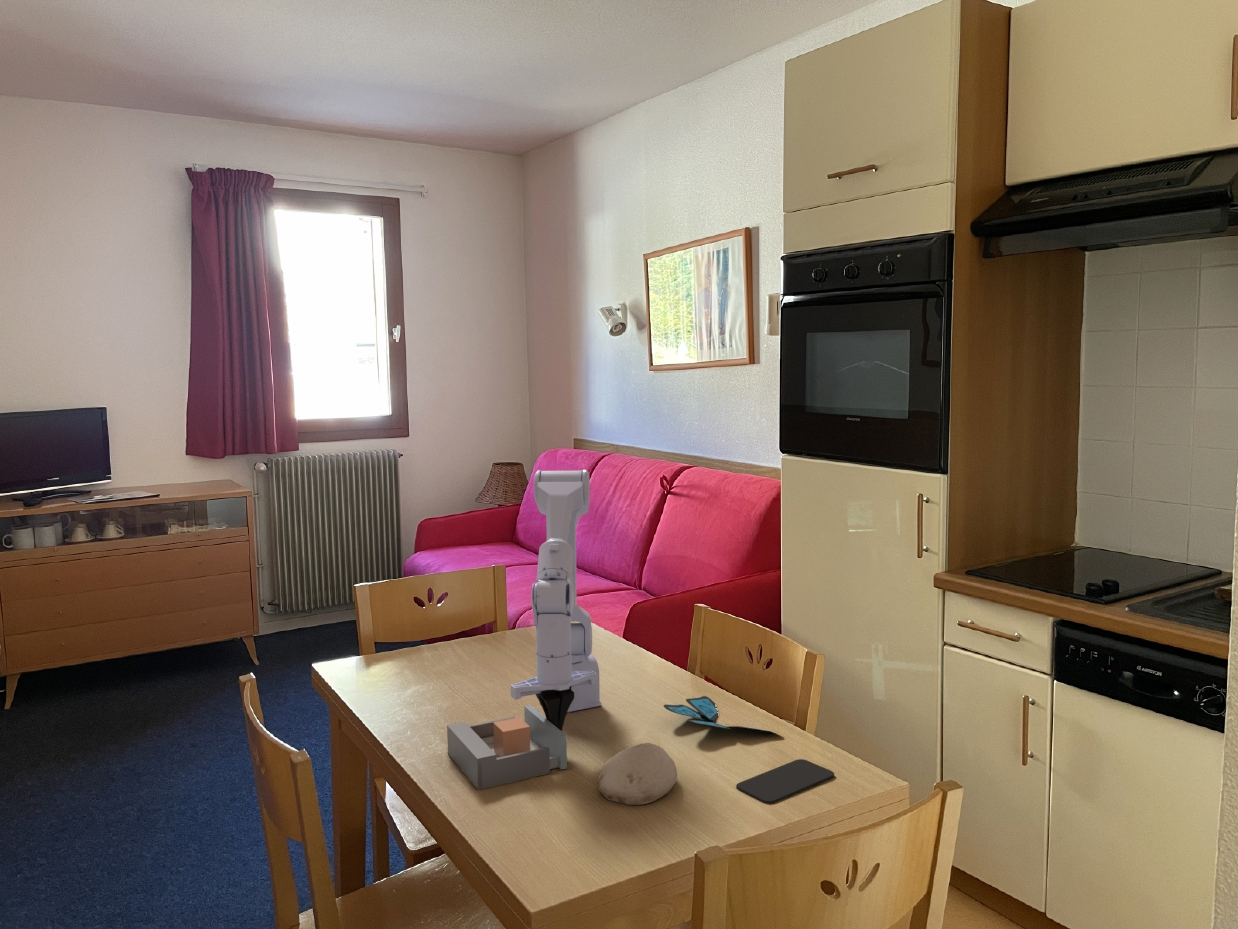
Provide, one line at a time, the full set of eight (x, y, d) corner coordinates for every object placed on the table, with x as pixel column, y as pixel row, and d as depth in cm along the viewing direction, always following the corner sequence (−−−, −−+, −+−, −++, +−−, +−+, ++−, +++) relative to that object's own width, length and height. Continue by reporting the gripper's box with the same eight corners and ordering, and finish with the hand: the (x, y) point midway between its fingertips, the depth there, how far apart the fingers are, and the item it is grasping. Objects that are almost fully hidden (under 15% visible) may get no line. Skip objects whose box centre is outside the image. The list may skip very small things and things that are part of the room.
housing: (514, 739, 155) (513, 712, 155) (549, 773, 142) (549, 743, 141) (447, 753, 150) (447, 725, 149) (478, 790, 137) (477, 758, 136)
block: (520, 746, 150) (519, 717, 150) (530, 757, 146) (529, 726, 146) (494, 752, 148) (493, 722, 148) (503, 762, 144) (503, 732, 144)
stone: (626, 838, 131) (650, 804, 128) (578, 787, 135) (600, 753, 131) (674, 795, 142) (697, 763, 138) (629, 749, 145) (650, 716, 142)
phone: (732, 785, 136) (800, 757, 145) (732, 790, 137) (800, 762, 146) (768, 803, 131) (838, 773, 140) (769, 808, 131) (837, 778, 140)
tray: (530, 735, 156) (529, 705, 156) (566, 768, 143) (566, 735, 143) (463, 749, 151) (462, 717, 150) (495, 784, 138) (494, 750, 137)
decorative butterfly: (646, 711, 164) (647, 696, 164) (709, 701, 172) (711, 687, 172) (715, 757, 147) (717, 740, 147) (782, 744, 155) (784, 727, 155)
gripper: (521, 666, 142) (523, 750, 143) (604, 652, 149) (605, 733, 150) (505, 654, 148) (507, 735, 150) (585, 641, 155) (587, 719, 156)
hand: (555, 733), depth 150 cm, fingers closed
